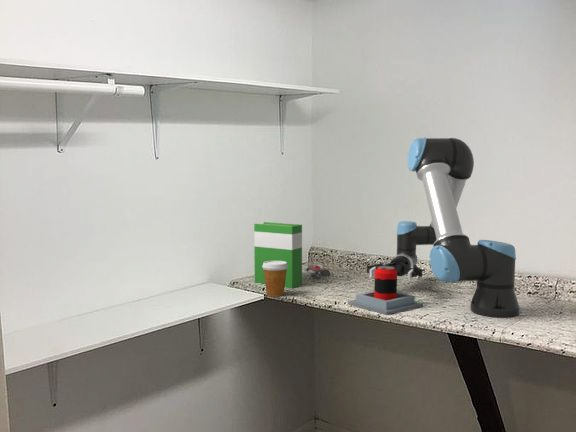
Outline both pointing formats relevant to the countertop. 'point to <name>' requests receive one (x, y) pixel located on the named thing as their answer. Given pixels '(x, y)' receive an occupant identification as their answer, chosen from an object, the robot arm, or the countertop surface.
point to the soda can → (385, 283)
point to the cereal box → (279, 250)
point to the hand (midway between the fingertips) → (389, 275)
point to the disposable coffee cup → (275, 277)
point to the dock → (385, 303)
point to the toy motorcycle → (317, 271)
